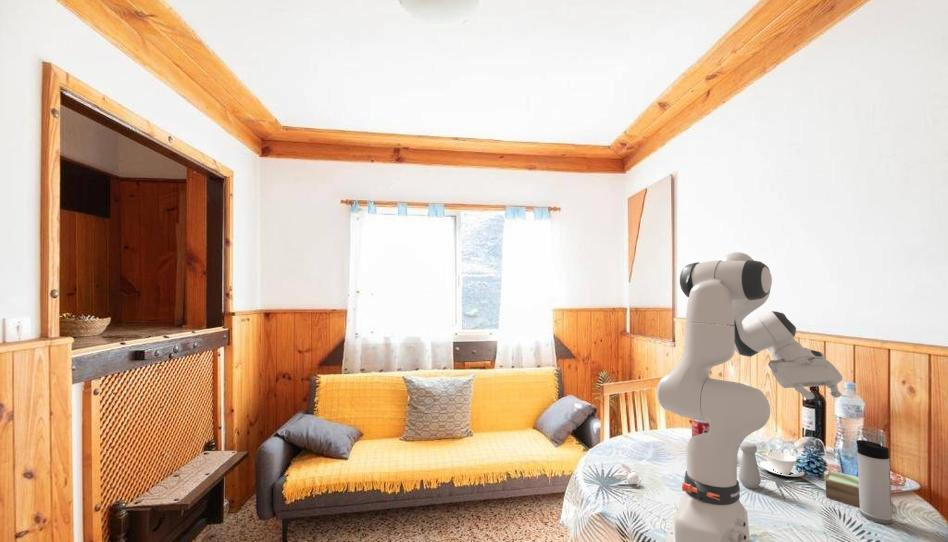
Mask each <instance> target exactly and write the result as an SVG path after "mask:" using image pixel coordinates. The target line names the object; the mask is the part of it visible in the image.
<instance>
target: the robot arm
mask: <svg viewBox="0 0 948 542" xmlns="http://www.w3.org/2000/svg"><path fill="white" fill-rule="evenodd" d="M679 275H680V276H679V286H680V289H681V292H682V293H683V294H684V295H685V297H687V298H688V300H687V306H686V314H685V338H684V347H683V353H682V356H681V358H680V361H679V362H678V364H677V365H676V366H675V367H674V369H673V370H671V371H670V372H669V373H667V374H665V375H664V376H662V378H660V380H659V382H658V384H657V386H656V398H657V400H658V403H659V404H660V406H661V408H662V409H663V410H666V411H668V412H670V413H673V414H675V415H677V416H680V417H683V418H688V419H692V420H693V419H696V420H700V421H705V422H707V423H709V425H710V430H709V432H708V433H703V434H699V435H696V436H694V437H692V436H691V437H690V438H689V440H688V441H687V443H686V446H685V448H686V449H685V453H686V471H685V475H684V477H683V478H684V480H683V482H682V483H681V484H682V485H681V490H682V492H681V496H680V499H679V503H678V505H677V506H678V507H677V509H676V514H674V515H673V517H672V521H671V523H670V526H669V528H668V531H667V533H666V536H665V539H664V542H754V541H753V540H752V539H751V537H750V527H749V515H748V511H747V509H746V507H745V506H743V504H742V502H741V501H740V497H741V495H740V494H741V487H740V482H739V480H738V454H739V450H740V448H741V447H740V446H741V443H743V442H744V440H745V439H746V438H747V437H748V436H749V435H751V434H753V433H754V432H756V431H759V430H760V429H762V428H764V427H765V425H767V423H768V422H769V420H770V417H771V405H770V402H769V400H768V398H767V396H766V395H765V393H764V392H763V391H762V390H761V389H759V388H757V387H756V388H755V387H754V386H751V385H747V384H743V383H741V382H735V381H731V380H723V379H717V378H711V377H710V372H711V370H712V369H713V367H716V366H719V365H722V364H725V363H727V362H729V361H730V360H731V359H732V358H733V357H734V355H735V352H737V354H738V355H741V356H744V357H749V358H751V357H753V356H755V355H757V354H758V353H760V352H763V351H765V350H768V351H769V352H770V353H771V355H772V357H773V358H774V359H771V360H769V361H768V362H767V363H768V367H769V368H770V369H771V373H772V374H773V377H774V378H775V380H776V382H777V383H778V384H779V385H780V386H781V387H782V388H784V389H791V388H794V389H795V391H796V392H798V393H799V394H801V395H802V396H804V398H805V399H806V400H813V399H814V398H815V394H813V392H812V391H809V390H807V389H806V387H809V388H810V387H824V386H826V387H827V388H828V389H830V392H829V394H830V396H832V397H833V398H840V397H842V393H841V391H839V388H838V384H839V383H840V382H842V381H843V376H842V374H841V373H840V371H839V370H838V368H837V367H835V365H834V364H833V363H831V362H830V361H829V360H828V359H825V358H826V356H825V354H824V353H823V352H821V351H819V350H814V349H811V348H807V347H804V346H803V345H802V344H801V343H800V342H798V341H797V340H796V339H795V337H796V334H797V327H796V326H795V325H794V324H793V322H791V320H789V318H787V316H786V314H784V313H783V312H779V311H773V310H772V311H769V312H766V313H765V314H762V315H760V316H758V317H756V318H755V319H752V320H750V321H748V322H746V323H744V324H743V321H744V319H746V318H747V316H749V315H750V314H751V313H753V312H754V311H756V310H758V309H759V308H760V307H762V306H763V305H764V304H765V303H766V302H767V300H769V297H770V293H771V288H772V284H773V277H772V274H771V270H770V267H769V266H767V265H766V264H765V263H764V262H762V261H758V260H754V259H753V258H752V257H751V256H750V255H749V254H746V253H744V252H738V251H736V252H731V253H727V254H726V255H724V256H723V257H721V258H720V259H719V260H711V261H703V262H699V261H698V262H693V263H689V264H687V265H685V266H684V268H683V269H682V270H681V271H680V274H679Z"/></svg>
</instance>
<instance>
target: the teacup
mask: <svg viewBox="0 0 948 542" xmlns="http://www.w3.org/2000/svg"><path fill="white" fill-rule="evenodd" d="M761 456H762V458H763V460H762V461H760V463H759V465H760V467H761V468H763V469H764V470H766V471H768V472H770V473H773V474H776V475H781V476H785V477H797V478H798V477H803V476H804V475H805V471H804V470H803V471H804V472H803V471H802V472H800V473H798V474H791V475H786V474H789V473H790V472H791V470H792V468H793V466H795V464H796V462H797V460H798V459H797V458H796V457H795V456H794V455H791V454H789V453H785V452H781V451H767V452H766V453H765V452H761ZM765 456H766V457H767V458H768V460H766V458H765ZM773 469H774V471H773ZM775 471H776V472H775ZM777 472H778V473H777ZM780 473H782V474H780Z"/></svg>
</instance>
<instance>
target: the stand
mask: <svg viewBox="0 0 948 542" xmlns="http://www.w3.org/2000/svg"><path fill="white" fill-rule="evenodd" d="M826 497H827V498H826ZM825 498H826V499H830V498H831V500H835V501H837V500H838V501H837V502H841V501H842V503H844V502H845V504H849V505H852V506H856V507H859V508H860V502H859V480H858V476H855V475H851V474H846V473H843V472H839V471H835V470H829V471H828V473H827V475H826V478H825Z"/></svg>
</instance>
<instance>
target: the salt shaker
mask: <svg viewBox="0 0 948 542" xmlns="http://www.w3.org/2000/svg"><path fill="white" fill-rule="evenodd" d="M739 448H740V451H742V452H741V453H742V454H741V461H740V465H739V466H740V467H739V473H738V479H739V480H740V482H741V484H742V486H743V487H745V488H747V489H754V490H757V488H758V487H760V484H761V482H762V479H761V475H760V469H759V466H758V462H757V461H758V460H757V457H756V453H757V452H758V448H757V446H756V445H755V444H754V443H752V442H749V441H748V442H747V441H742V443H741V445H740V447H739Z"/></svg>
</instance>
